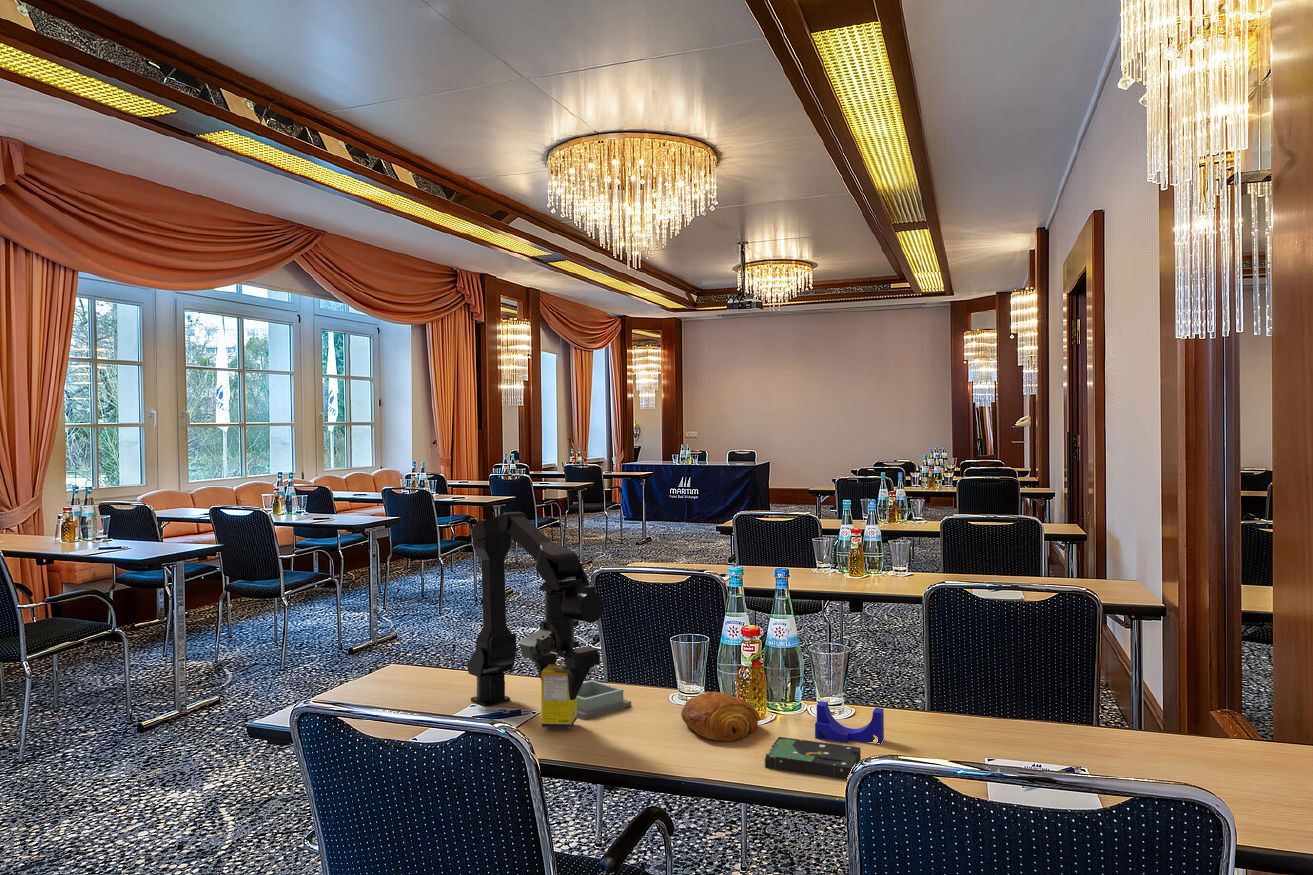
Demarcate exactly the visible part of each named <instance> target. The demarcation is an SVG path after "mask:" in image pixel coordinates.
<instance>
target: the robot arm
mask: <svg viewBox="0 0 1313 875" xmlns="http://www.w3.org/2000/svg"><path fill="white" fill-rule="evenodd" d="M471 538H472V543H473V545H472V546H473V549H474V550H475V553H476V554H477V556H478V557H479V558H480V560H481V561H480V562H481V583H482V584H481V587H482V588H481V589H482V590H481V591H482V593H481V594H482V621H483V622H482V623H483V627H482V628H481V631H480V633H479V634H478V636H477V638H476V640H475V641H476V642H475V651H474V653H473V654H472V655H471V657H470V659H469V660H468V662H467V663H466V667H467V673H468V675H471V676H474V677H476V696H472V697H470V701H471V702H475V703H477V704H478V705H482V706H485V707H488V706H491V705H496V704H499V703H504V702H509V701H511V697H510V696H508V695H507V696H506V681H505V680H506V678H505V674H506V672H511V671H513V669H514V665H515V662H516V661H515V660H516V655H517V652H518V649H517V635H516V633H514V632H513V633H512V631H511V630H510V629H509V627H508V626H507V606H506V604H507V602H506V601H507V600H506V596H507V595H506V571H505V570H506V569H505V568H506V566H505V559H506V557H507V555H508V553H509V551H510V549H511V548H512V539H513V540H515V542H516V543H518V545H520V547H522V549H523V550H525V552H526V553H527V554H528V555H529V556H531V558H533V560H534V561H535V569H536V571H537V572H538V574H539V576H540V577H541V579H542V580H543V581H544V583H542V584H541V585H540V587H539V588H538V589H539V591H541V592H544V594H545V595H544V596H545V597H544V598H545V604H544V605H545V606H544V607H545V608H544V609H545V611H544V612H545V616H544V617H545V619H544V620H540V622H539V630H537V631H534V632H532V633H530V634H529V635H527V636H526V637H524V638H522V639H521V640H519V642H518V645H519V648H520V653H521V655H522V658H524V659H528V660H530V661H532V663H533V664H535V666H536V670H537V672H538V674H539V678H540V680H541V673H542V671H543V670H544V669H545V668H546V667H547V666H548V665H549V664H554V665H556V664H557V657H561V658H563V661H564V665H566V666H564V667H562V668H563V669H564V670H565V671H566V672H567V674H568V685H569V696H570V700H575V699H576V697H577V695H578V692H579V690H580V688H581V686H582V684H583V682H585V679H586V677H587V675H588V674H589V672H591V669H592V668H595V666H597V665H600V664H601V653H600V651H599V650H598V649H596V648H592V647H588V646H581V647H579V646H580V645H579V642H580V641H579V640H575V627H578V626H579V625H580V623H579V622H583V623H588V624H594V623H596V622H597V621H599V620H600V619H601V617H602V616H603V614H604V609H605V603H604V600H603V598H602V597H601V595H600V594H599V593H597V592H596V586H594V585H590V581H589V579H588V576H587V574H586V572H585V570H584V568H583V566H582V563H581V562H580V557H579V556H578V554H577V553H576V552H574V550H572V549H570V548H568V547H566V546H564V545H560V544H556V543H554V542H553V541H551V540H550V539H549V538H548V537H547V536H546V534H544V533H543V532H542V531H541V530H540V529H538V527H536V526H535V524H533V523H532V522H531V521H530V520H529V519H528V518H527V516H526V514H525V513H524V512H521V511H513V512H512V511H510V512H507V511H506V512H503V513H501V514H499V515H498V516H495V517H491V518H487V519H479V520H477V521H476V522H475V524H474V525H473V526H472V527H471Z"/></svg>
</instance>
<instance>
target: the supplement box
mask: <svg viewBox="0 0 1313 875" xmlns="http://www.w3.org/2000/svg"><path fill="white" fill-rule="evenodd" d="M564 666H566V664H555V665H554V664H549V665H548V666H547V667H546V668H545V669H544V670H543V671H542V673H541V679H540V682H541V685H540V686H541V702H540V703H541V728H553V729H554V728H556V729H557V728H561V729H571V728H572V727H573V726H574V724H575V722H576V721H577V719H578V717H577V697H576V699H575V700H570V696H569V685H568V674H567V672H566V671H565V670H564V669H563V668H562V667H564Z"/></svg>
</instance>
